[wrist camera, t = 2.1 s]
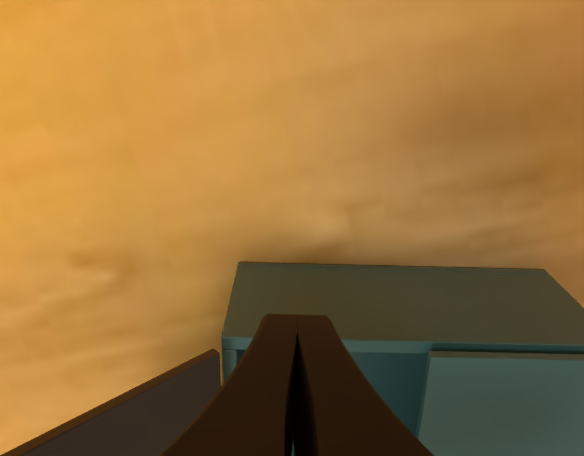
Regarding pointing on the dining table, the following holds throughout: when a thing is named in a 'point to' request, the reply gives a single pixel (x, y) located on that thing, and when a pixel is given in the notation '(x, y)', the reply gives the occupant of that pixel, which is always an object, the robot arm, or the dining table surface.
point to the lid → (135, 416)
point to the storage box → (441, 347)
